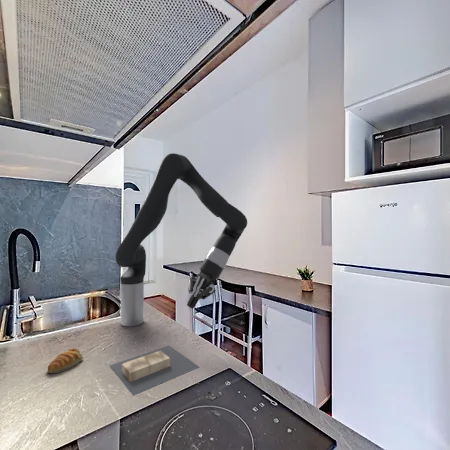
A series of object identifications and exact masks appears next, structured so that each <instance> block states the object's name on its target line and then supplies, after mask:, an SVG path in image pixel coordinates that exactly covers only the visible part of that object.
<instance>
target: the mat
mask: <svg viewBox="0 0 450 450" xmlns="http://www.w3.org/2000/svg"><path fill="white" fill-rule="evenodd" d="M158 351H162V352H163V353H164V354H166V355H167V356H168V357H169V358H170V367H167V368H164V369H162V370H159V371H157V372H154V373H152V374H149V375H147V376H144V377H142V378H139V379H137V380H134V381H132V382H130V381H129V380H128V379H127V378H126V377H125V375H124V374H123V373H122V364H123V363H126V362H128V361H131V360H134V359H137V358H140V357H143V356H146V355H149V354H152V353H155V352H158ZM109 367H110V369H111V370H112V371H113V373H114V374H115V375H116V376H117V377H118V378H119V380H120V381H121V382H122V384H123V385H124V386H125V388H127V390H128V391H129V392H130V393H131V395H132V396H136V395H138V394H141V393H143V392H145V391H147V390H150V389H153V388H155V387H157V386H159V385H162V384H163V383H167V382H169V381H171V380H173V379H176V378H178V377H180V376H182V375H185V374H187V373H189V372H192V371H195V370H197V369H199V368H200V366H199V365H197V364H196V363H195V362H193V360H191V359H189V358H188V357H186V356H185V355H184V354H182V353H181V352H179V351H178V350H176V349H175V348H174V347H172V346H171V345H166V346H163V347H161V348H160V347H159V348H158V349H154V350H152V351H149V352H146V353H142V354H140V355H139V354H138V355H137V356H134V357H131V358H128V359H125V360H122V361H120V362H119V361H118V362H117V363H114V364H110V365H109Z"/></svg>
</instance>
